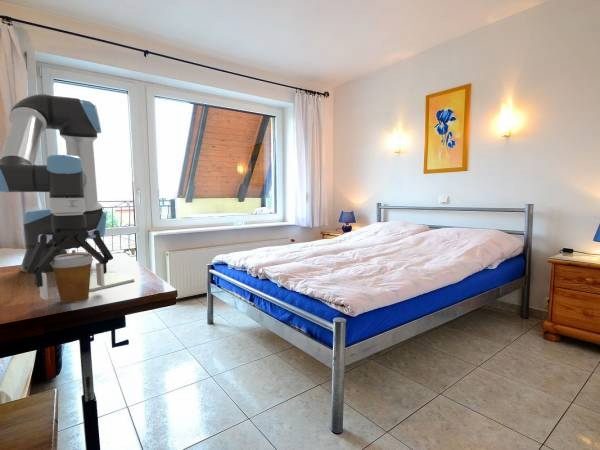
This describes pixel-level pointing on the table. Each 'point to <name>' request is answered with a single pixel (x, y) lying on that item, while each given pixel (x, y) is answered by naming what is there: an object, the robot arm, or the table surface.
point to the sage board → (108, 281)
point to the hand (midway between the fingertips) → (74, 291)
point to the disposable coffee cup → (72, 276)
